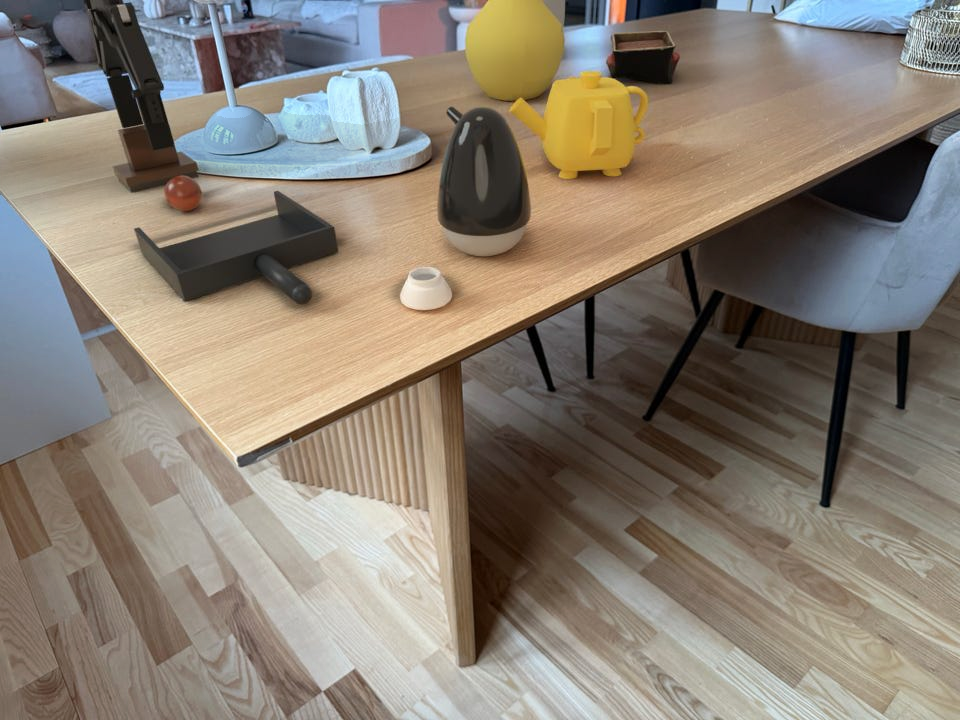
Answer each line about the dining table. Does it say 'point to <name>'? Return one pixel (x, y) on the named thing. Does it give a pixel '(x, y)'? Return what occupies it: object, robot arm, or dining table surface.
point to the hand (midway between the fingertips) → (147, 136)
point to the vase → (514, 48)
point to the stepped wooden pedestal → (150, 162)
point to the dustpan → (245, 253)
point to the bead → (183, 193)
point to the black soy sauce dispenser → (483, 184)
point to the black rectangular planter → (643, 56)
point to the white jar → (425, 289)
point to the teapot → (587, 124)
